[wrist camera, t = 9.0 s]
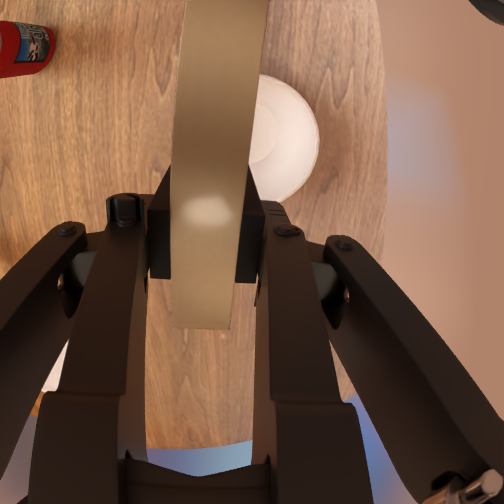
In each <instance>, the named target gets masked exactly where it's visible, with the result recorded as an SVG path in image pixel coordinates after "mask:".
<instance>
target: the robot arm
mask: <svg viewBox="0 0 504 504" xmlns="http://www.w3.org/2000/svg"><path fill="white" fill-rule="evenodd" d="M497 1H499V2H500V3H502V4H504V0H497ZM170 175H171V164H170V166H169V168H168V170H167V172H166V174H165V176H164V177H163V179H162V181H161V183H160V185H159V187H158V189H157V191H156V193H155V195H154V194H136V193H120V194H116V195H113V196H110V197H108V198H107V199H106V209H107V221H108V223H107V225H106V228H105V230H104V231H101V232H95V233H87V234H86V228H85V225H84V224H82V223H80V222H72V221H67V222H63V223H62V224H60V225H57V226H56V227H54V228H53V229H52V230H50V231H49V232H48V233H47V234H46V235H45V236H44V237H43V238H42V239H41V240H40V241H39V242H38V243H37V244H35V245H34V246H33V247H32V248H31V249H30V250H29V251H28V252H27V253H26V254H25V255H24V256H23V257H22V258H21V259H20V260H19V261H18V262H17V263H16V264H15V265H14V266H13V267H12V268H11V269H10V270H9V272H8V273H7V274H6V275H5V276H4V277H3V278H2V279H1V280H0V480H1V478H2V476H3V474H4V472H5V470H6V468H7V465H8V463H9V461H10V459H11V456H12V454H13V451H14V449H15V446H16V444H17V442H18V439H19V437H20V435H21V432H22V430H23V428H24V425H25V423H26V421H27V419H28V417H29V415H30V412H31V410H32V408H33V406H34V404H35V402H36V400H37V398H38V396H39V394H40V392H41V390H42V388H43V386H44V384H45V382H46V380H47V378H48V376H49V374H50V372H51V370H52V368H53V367H54V365H55V363H56V361H57V359H58V357H59V355H60V354H61V352H62V350H63V348H64V346H65V345H66V343H67V341H68V339H69V341H68V345H67V349H66V353H65V358H64V362H63V366H62V371H61V375H60V380H59V385H58V388H57V389H56V391H47V392H46V393H45V394H44V395H43V398H42V401H41V404H40V408H39V413H38V419H37V424H36V431H35V437H34V443H33V451H32V459H31V468H30V477H29V492H28V495H27V496H26V497H24V498H23V499H22V500H21V501H19V502H18V503H17V504H374V503H373V497H372V490H371V484H370V477H369V471H368V466H367V460H366V454H365V449H364V444H363V438H362V433H361V428H360V424H359V419H358V415H357V412H356V409H355V407H354V406H353V405H352V403H344V402H343V401H342V400H341V397H340V392H339V387H338V382H337V377H336V371H335V366H334V361H333V357H332V352H331V347H330V342H331V344H332V345H333V347H334V349H335V351H336V353H337V355H338V357H339V359H340V361H341V363H342V364H343V366H344V368H345V370H346V372H347V374H348V376H349V378H350V380H351V382H352V384H353V386H354V388H355V390H356V391H357V393H358V395H359V397H360V399H361V401H362V403H363V405H364V407H365V409H366V411H367V413H368V415H369V417H370V419H371V421H372V423H373V425H374V427H375V429H376V431H377V433H378V435H379V437H380V439H381V441H382V443H383V445H384V447H385V449H386V451H387V453H388V455H389V457H390V459H391V461H392V463H393V465H394V467H395V469H396V471H397V473H398V475H399V476H400V478H401V480H402V482H403V483H404V486H405V487H406V489H407V490H408V491H409V493H410V494H411V495H412V497H413V498H414V499H415V501H416V502H417V503H418V504H504V421H503V420H502V419H501V418H500V417H499V416H498V414H497V413H496V411H495V410H494V408H493V407H492V406H491V404H490V403H489V401H488V400H487V398H486V397H485V395H484V394H483V393H482V391H481V390H480V389H479V387H478V386H477V384H476V383H475V381H474V380H473V379H472V377H471V376H470V375H469V373H468V372H467V371H466V369H465V368H464V366H463V365H462V364H461V362H460V361H459V360H458V359H457V357H456V356H455V355H454V353H453V352H452V351H451V349H450V348H449V347H448V346H447V344H446V343H445V342H444V340H443V339H442V338H441V337H440V335H439V334H438V333H437V332H436V330H435V329H434V328H433V327H432V326H431V324H430V323H429V322H428V321H427V319H425V317H424V316H423V315H422V313H421V312H420V311H419V310H418V309H417V307H416V306H415V305H414V304H413V303H412V301H411V300H410V299H409V298H408V297H407V296H406V295H405V293H404V292H403V291H402V290H401V289H400V287H399V286H398V285H397V284H396V283H395V282H394V281H393V280H392V278H391V277H390V276H389V275H388V274H387V273H386V272H385V270H384V269H383V268H382V267H381V266H380V265H379V264H378V263H377V262H376V260H375V259H374V258H373V257H372V256H371V255H370V254H369V253H368V252H367V251H366V250H365V248H364V247H363V246H362V245H361V244H360V243H358V242H357V241H356V240H354V239H352V238H351V237H348V236H347V237H346V236H345V235H331V236H329V237H327V240H326V243H325V245H321V244H317V243H313V242H309V241H307V240H306V239H305V235H304V232H303V231H302V230H301V229H300V228H298V227H297V226H294V225H292V224H291V223H290V220H289V218H288V216H287V214H286V212H285V210H284V208H283V206H282V205H281V204H279V203H278V202H277V201H269V200H260V197H259V194H258V191H257V188H256V185H255V182H254V179H253V176H252V173H251V170H250V167H249V164H248V172H247V180H246V188H245V197H244V205H243V212H242V221H241V229H240V238H239V247H238V256H237V265H236V274H235V283H255V284H256V277H257V273H258V285H257V291H256V297H255V303H254V306H255V307H256V336H255V374H254V410H253V446H252V460H251V465H248V466H245V467H241V468H237V469H233V470H229V471H225V472H220V473H216V474H211V475H206V476H201V477H200V476H199V477H197V476H191V475H187V474H184V473H180V472H177V471H173V470H170V469H167V468H164V467H160V466H157V465H155V464H151V463H149V462H148V458H147V452H146V432H145V337H146V315H147V298H148V271H149V267H150V278H154V279H171V255H170ZM59 279H60V285H59V286H58V280H59ZM348 293H349V298H348V297H347V295H348ZM329 340H330V342H329Z"/></svg>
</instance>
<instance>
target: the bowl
mask: <svg viewBox="0 0 504 504" xmlns="http://www.w3.org/2000/svg"><path fill="white" fill-rule="evenodd" d="M319 142H320V138H319V130H318V124H317V122H316V119H315V116H314V113H313V111H312V110H311V108H310V106H309V105H308V103H307V101H306V100H305V99H304V98H303V97H302V96H301V95H300V94H299V93H298V92H297V91H296V90H295V89H293V88H292V87H291V86H289V85H288V84H286V83H285V82H283V81H281V80H279V79H276V78H274V77H272V76H268V75H263V74H260V76H259V83H258V91H257V99H256V107H255V115H254V123H253V131H252V139H251V147H250V155H249V163H248V164H249V167H250V170H251V173H252V176H253V179H254V182H255V185H256V188H257V191H258V194H259V197H260V200H269V201H277V202H278V203H280V202H282V201H283V200H285V199H287V198H288V197H290V196H291V195H293V194H294V193H295V192H296V191H297V190H298V189H299V188H300V187H301V186H302V185H303V184H304V183H305V181H306V180H307V179H308V177H309V176H310V174H311V172H312V170H313V168H314V166H315V164H316V160H317V156H318V153H319Z"/></svg>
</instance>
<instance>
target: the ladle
mask: <svg viewBox="0 0 504 504" xmlns="http://www.w3.org/2000/svg"><path fill="white" fill-rule="evenodd" d="M269 2H270V0H186V4H185V11H184V18H183V25H182V33H181V41H180V49H179V58H178V68H177V78H176V89H175V101H174V115H173V130H172V149H171V175H170V255H171V305H172V324H173V328H189V329H210V330H230V323H231V314H232V304H233V295H234V285H235V274H236V265H237V256H238V247H239V238H240V229H241V221H242V212H243V205H244V197H245V188H246V180H247V172H248V163H249V155H250V147H251V139H252V131H253V123H254V115H255V107H256V99H257V91H258V83H259V76H260V68H261V60H262V53H263V45H264V38H265V31H266V23H267V16H268V9H269Z"/></svg>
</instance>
